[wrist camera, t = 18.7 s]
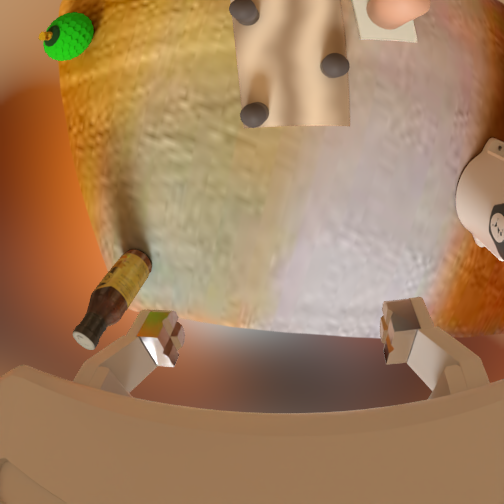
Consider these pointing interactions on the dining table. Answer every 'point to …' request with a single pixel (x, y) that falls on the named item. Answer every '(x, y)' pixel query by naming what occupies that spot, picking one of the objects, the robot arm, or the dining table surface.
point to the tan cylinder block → (395, 12)
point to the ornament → (67, 36)
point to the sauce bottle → (113, 297)
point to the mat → (375, 32)
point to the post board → (291, 62)
